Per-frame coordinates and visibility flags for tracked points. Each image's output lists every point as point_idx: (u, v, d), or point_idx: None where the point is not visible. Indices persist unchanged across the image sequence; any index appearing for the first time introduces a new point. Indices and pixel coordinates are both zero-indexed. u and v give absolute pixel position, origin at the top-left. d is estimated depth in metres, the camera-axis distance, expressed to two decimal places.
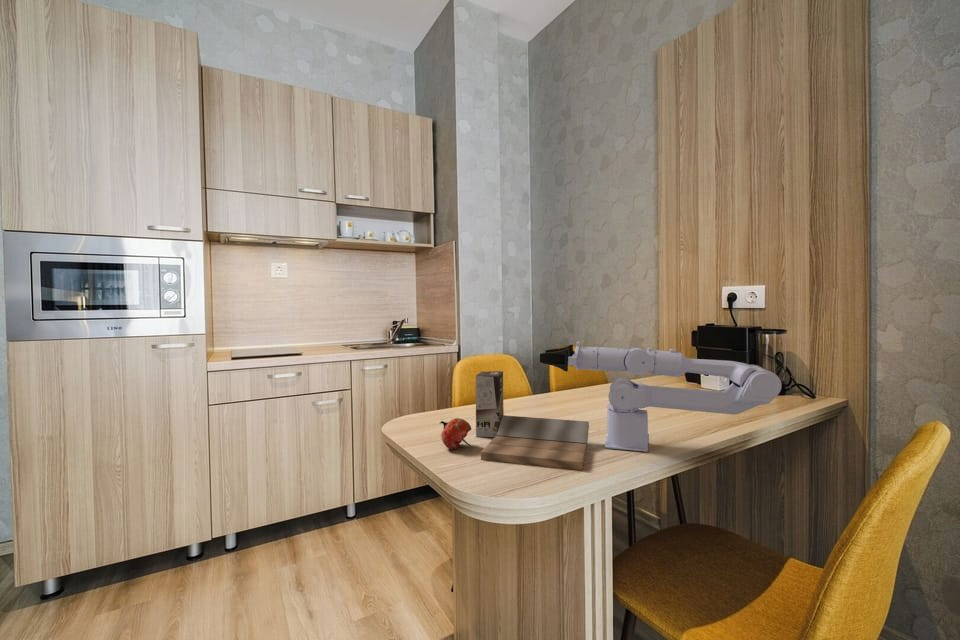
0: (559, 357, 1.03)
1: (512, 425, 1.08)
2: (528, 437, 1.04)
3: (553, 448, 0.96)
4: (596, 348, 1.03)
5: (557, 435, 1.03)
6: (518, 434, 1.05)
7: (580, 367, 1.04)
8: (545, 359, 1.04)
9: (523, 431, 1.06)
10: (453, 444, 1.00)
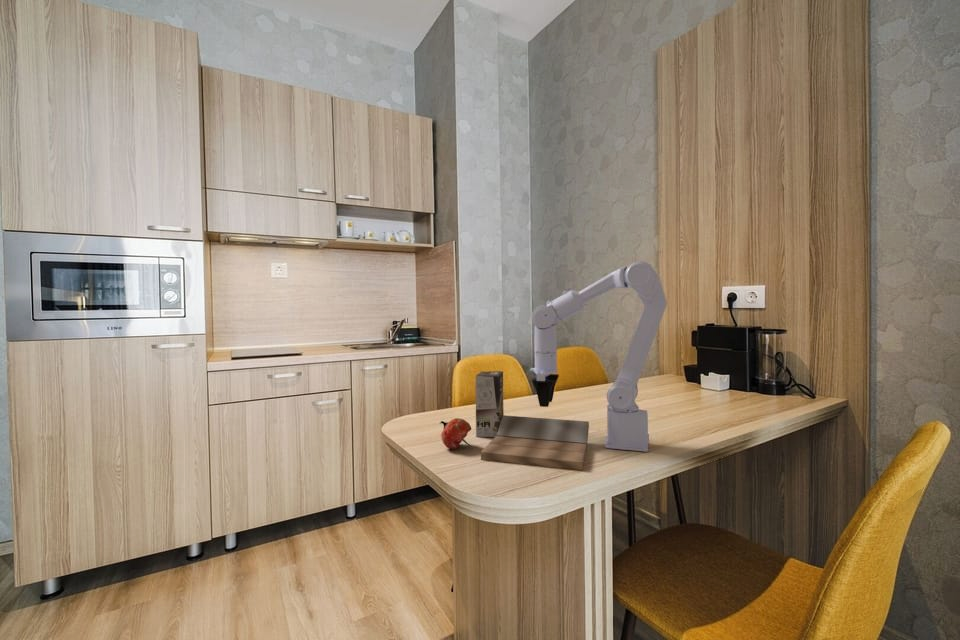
0: (542, 387, 1.07)
1: (512, 425, 1.08)
2: (528, 437, 1.04)
3: (553, 448, 0.96)
4: None
5: (557, 435, 1.03)
6: (518, 434, 1.05)
7: (552, 368, 1.08)
8: (544, 401, 1.07)
9: (523, 431, 1.06)
10: (453, 444, 1.00)
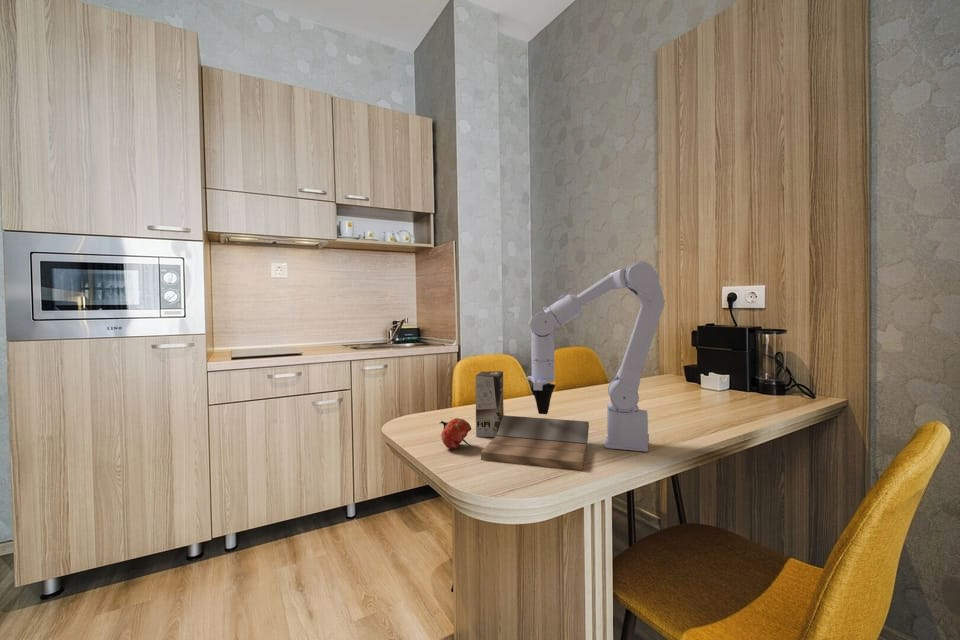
0: (540, 394, 1.06)
1: (512, 425, 1.08)
2: (528, 437, 1.04)
3: (553, 448, 0.96)
4: None
5: (557, 435, 1.03)
6: (518, 434, 1.05)
7: (550, 377, 1.04)
8: (543, 408, 1.06)
9: (523, 431, 1.06)
10: (453, 444, 1.00)
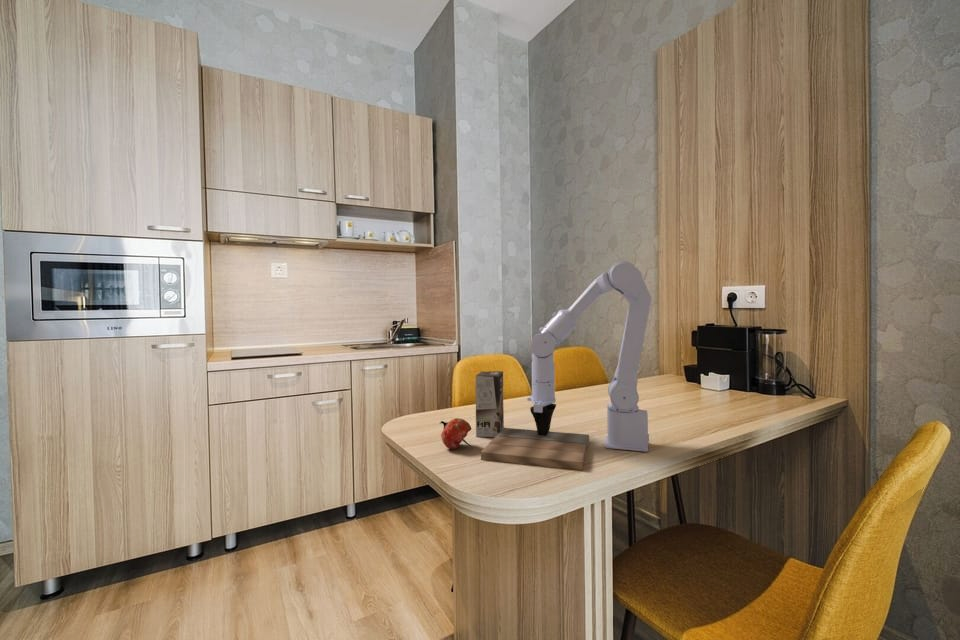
0: (540, 416, 1.06)
1: (513, 432, 1.09)
2: (528, 438, 1.04)
3: (553, 448, 0.96)
4: (532, 382, 1.07)
5: (558, 438, 1.03)
6: (518, 436, 1.05)
7: (550, 398, 1.04)
8: (543, 430, 1.06)
9: (524, 435, 1.06)
10: (453, 444, 1.00)
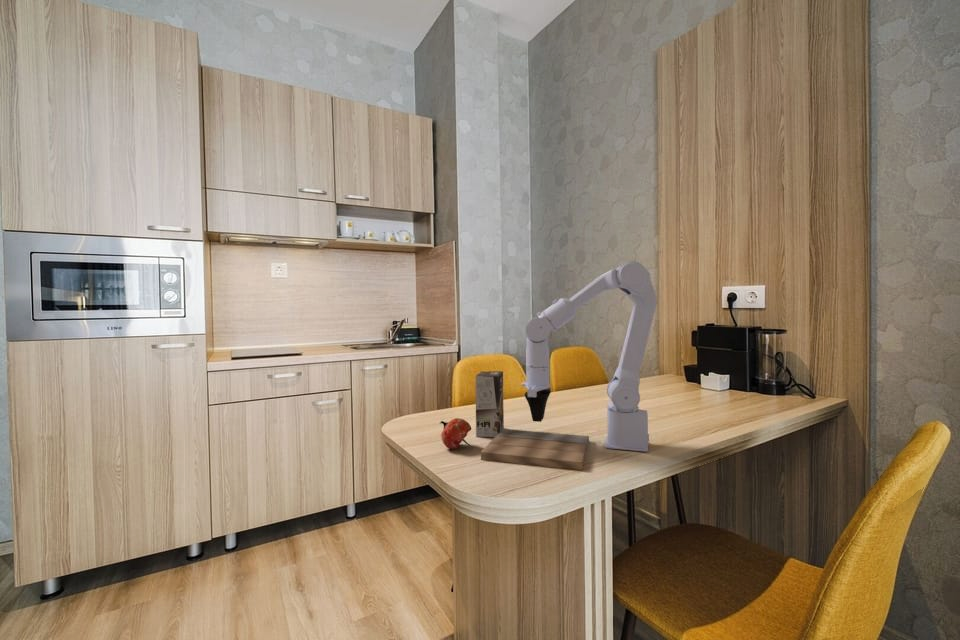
0: (535, 402, 1.05)
1: (513, 433, 1.09)
2: (528, 438, 1.04)
3: (553, 448, 0.96)
4: (526, 367, 1.05)
5: (558, 439, 1.03)
6: (518, 436, 1.05)
7: (544, 383, 1.03)
8: (537, 415, 1.04)
9: (524, 435, 1.06)
10: (453, 444, 1.00)
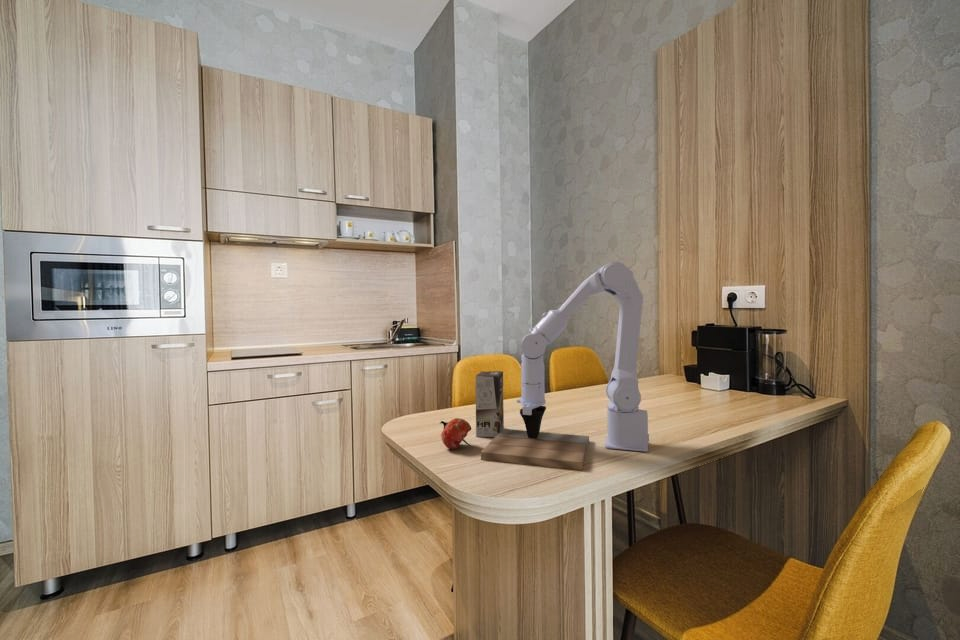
0: (530, 418, 1.04)
1: (513, 433, 1.09)
2: (528, 438, 1.04)
3: (553, 448, 0.96)
4: (521, 383, 1.04)
5: (558, 439, 1.03)
6: (518, 436, 1.05)
7: (540, 400, 1.02)
8: (533, 432, 1.03)
9: (524, 435, 1.06)
10: (453, 444, 1.00)
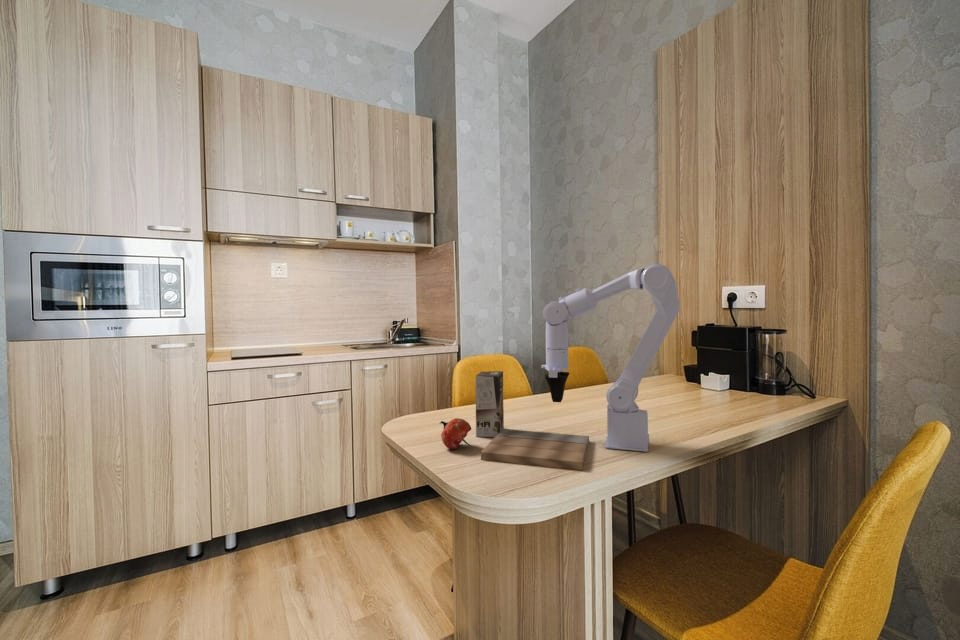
0: (554, 383, 1.08)
1: (513, 433, 1.09)
2: (528, 438, 1.04)
3: (553, 448, 0.96)
4: (546, 350, 1.09)
5: (558, 439, 1.03)
6: (518, 436, 1.05)
7: (564, 365, 1.07)
8: (557, 396, 1.08)
9: (524, 435, 1.06)
10: (453, 444, 1.00)
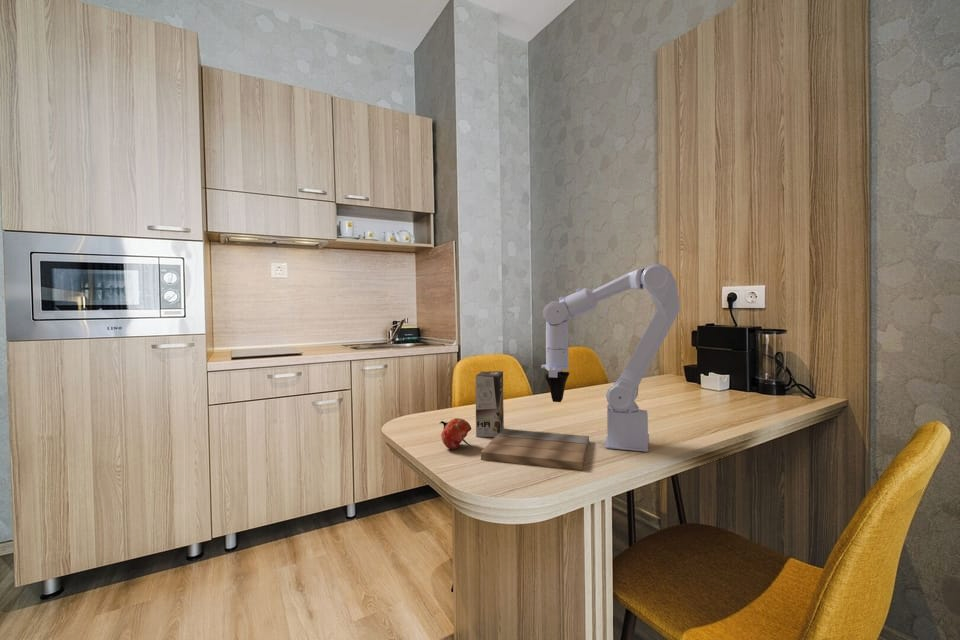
0: (554, 383, 1.08)
1: (513, 433, 1.09)
2: (528, 438, 1.04)
3: (553, 448, 0.96)
4: (546, 349, 1.09)
5: (558, 439, 1.03)
6: (518, 436, 1.05)
7: (564, 365, 1.07)
8: (557, 396, 1.08)
9: (524, 435, 1.06)
10: (453, 444, 1.00)
